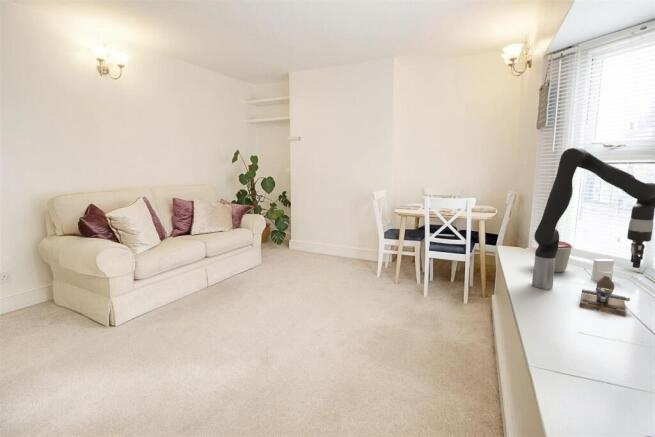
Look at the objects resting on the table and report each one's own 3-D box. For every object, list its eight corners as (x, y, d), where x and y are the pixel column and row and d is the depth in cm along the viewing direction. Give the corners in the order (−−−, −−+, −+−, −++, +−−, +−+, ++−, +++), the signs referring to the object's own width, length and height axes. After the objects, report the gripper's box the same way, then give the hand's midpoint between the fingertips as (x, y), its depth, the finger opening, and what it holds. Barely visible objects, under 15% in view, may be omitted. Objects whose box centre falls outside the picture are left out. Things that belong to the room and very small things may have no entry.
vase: (616, 295, 162) (618, 279, 160) (601, 295, 163) (602, 278, 162) (607, 290, 168) (609, 274, 167) (592, 289, 170) (594, 274, 168)
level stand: (579, 306, 151) (580, 301, 151) (581, 296, 162) (581, 291, 161) (625, 315, 141) (626, 310, 141) (623, 304, 151) (624, 299, 151)
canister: (568, 268, 205) (572, 235, 201) (571, 276, 190) (575, 242, 186) (535, 264, 214) (537, 233, 211) (535, 271, 199) (538, 239, 196)
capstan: (580, 302, 150) (581, 290, 149) (582, 292, 162) (583, 280, 161) (630, 312, 139) (632, 299, 138) (628, 300, 151) (630, 288, 150)
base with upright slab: (604, 277, 187) (606, 257, 185) (616, 282, 178) (618, 262, 176) (587, 277, 188) (589, 257, 186) (598, 282, 179) (601, 262, 177)
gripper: (626, 225, 146) (622, 259, 149) (630, 231, 135) (624, 267, 138) (650, 227, 141) (644, 262, 144) (655, 233, 131) (649, 271, 133)
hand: (634, 265), depth 141 cm, fingers open, 8 cm apart
